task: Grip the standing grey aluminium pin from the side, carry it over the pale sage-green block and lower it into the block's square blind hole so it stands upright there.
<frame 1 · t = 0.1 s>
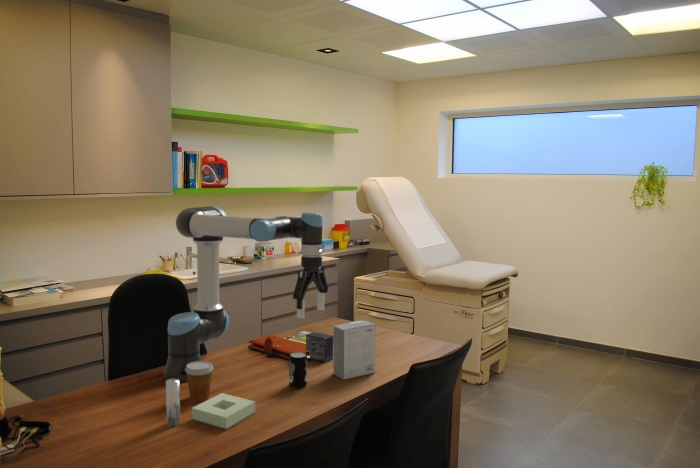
hand: (311, 313, 200), 28 cm above the table, tool pointing down, fingers open, 13 cm apart
disposable coffee cup: (199, 398, 192), on the table
small box: (319, 359, 236), on the table
hard drive box: (354, 374, 218), on the table
pin: (173, 424, 172), on the table
beverage can: (298, 386, 205), on the table
socket block: (224, 416, 178), on the table
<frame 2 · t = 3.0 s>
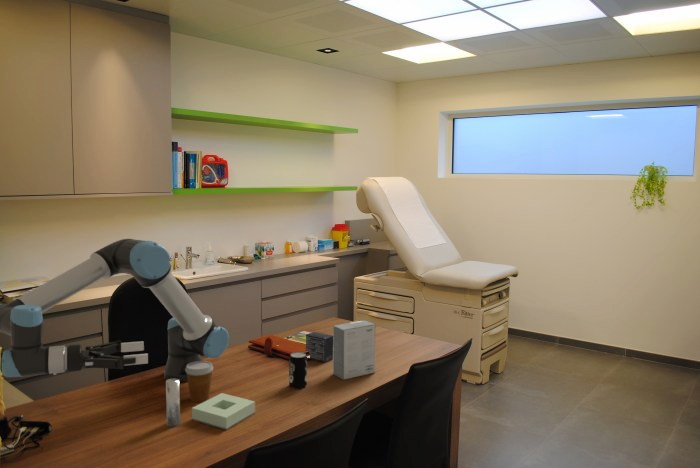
hand: (145, 351, 166), 24 cm above the table, tool horizontal, fingers open, 13 cm apart
nothing on the table moved.
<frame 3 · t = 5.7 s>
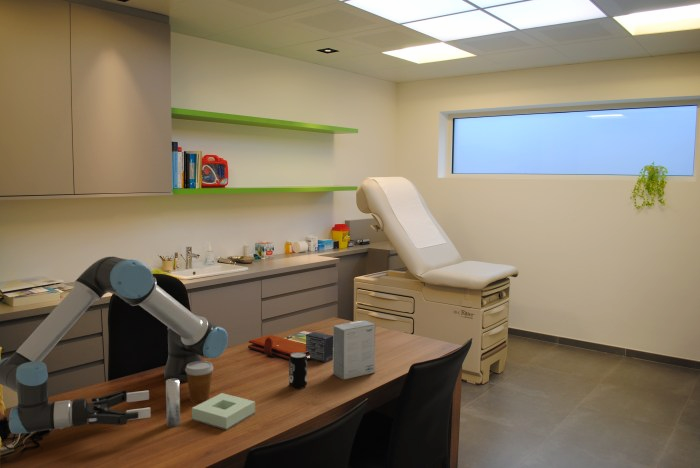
hand: (149, 403, 168), 8 cm above the table, tool horizontal, fingers open, 13 cm apart
nothing on the table moved.
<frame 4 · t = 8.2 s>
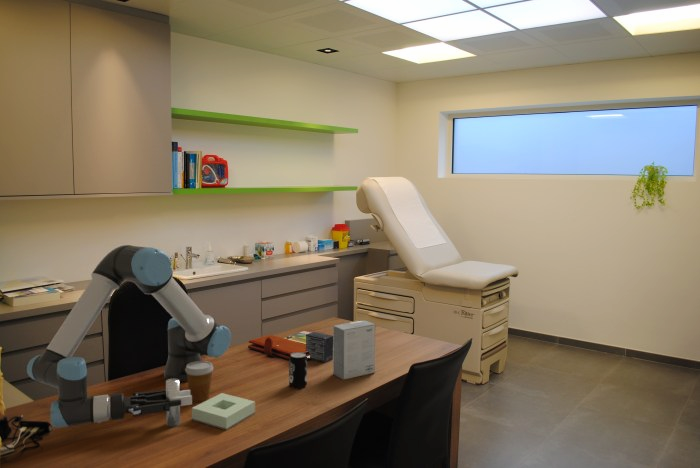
hand: (190, 396, 173), 8 cm above the table, tool horizontal, fingers closed on pin, 4 cm apart
pin: (173, 424, 172), on the table, touching gripper
everything else where it was.
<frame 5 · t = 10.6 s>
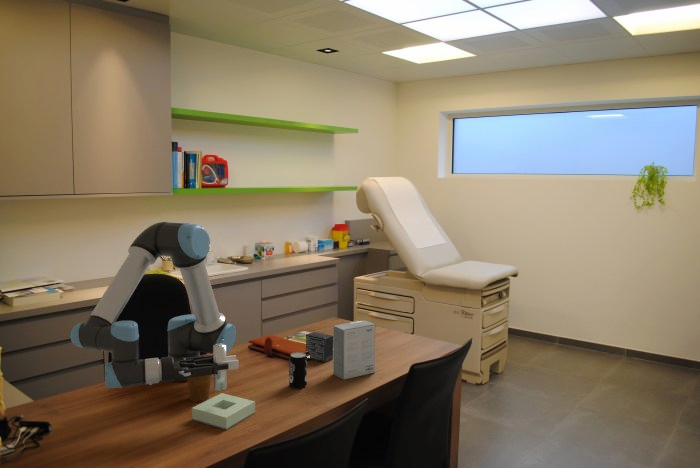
hand: (237, 361, 177), 18 cm above the table, tool horizontal, fingers closed on pin, 4 cm apart
pin: (220, 388, 176), point 10 cm above the table, touching gripper
everything else where it was.
when the fingers open (9 cm above the table, at t = 13.0 s): pin stays where it is, resting on socket block.
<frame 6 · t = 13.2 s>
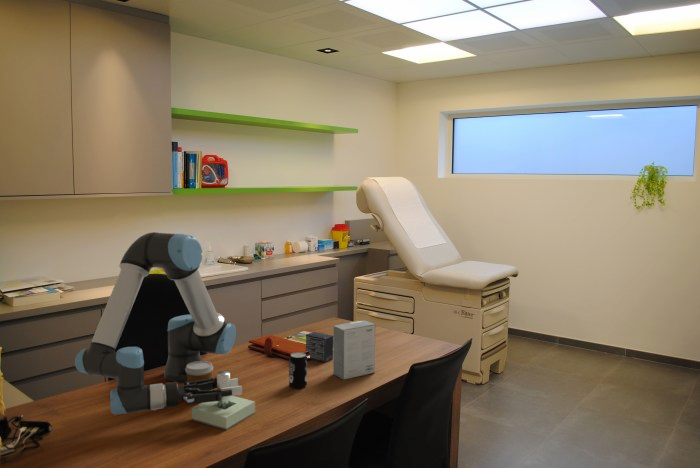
hand: (239, 386, 178), 9 cm above the table, tool horizontal, fingers open, 6 cm apart
pin: (223, 415, 177), point 1 cm above the table, touching socket block
everything else where it was.
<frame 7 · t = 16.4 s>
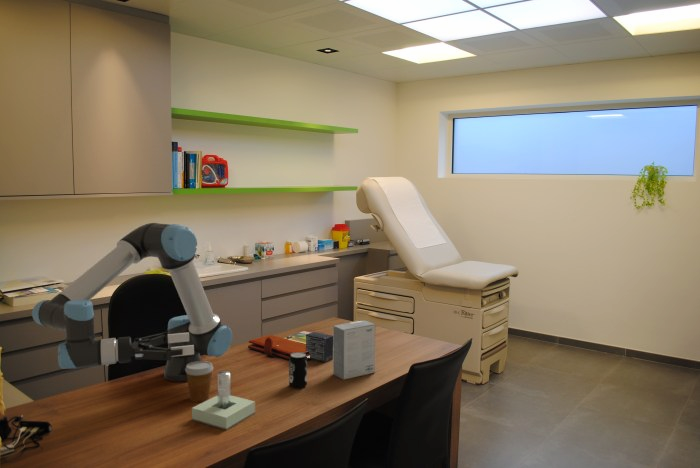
hand: (191, 343, 171), 25 cm above the table, tool horizontal, fingers open, 13 cm apart
nothing on the table moved.
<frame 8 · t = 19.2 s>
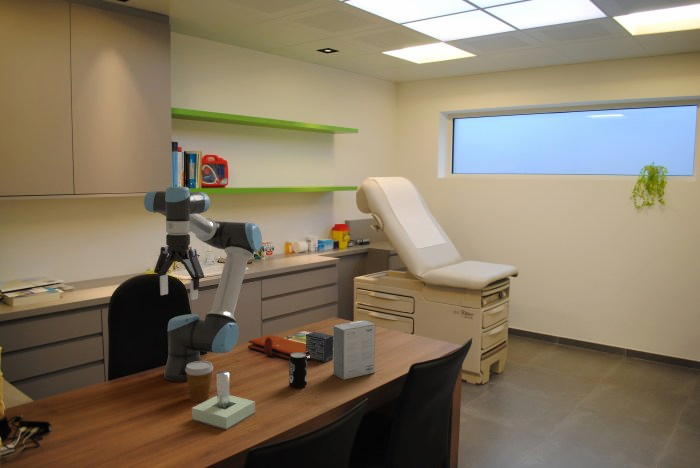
hand: (179, 296, 184), 37 cm above the table, tool pointing down, fingers open, 13 cm apart
nothing on the table moved.
at the end: pin 0.0 cm off-centre on the socket block, point 0.5 cm above the socket block's base; pin tilted 1°; the gripper is holding nothing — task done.
